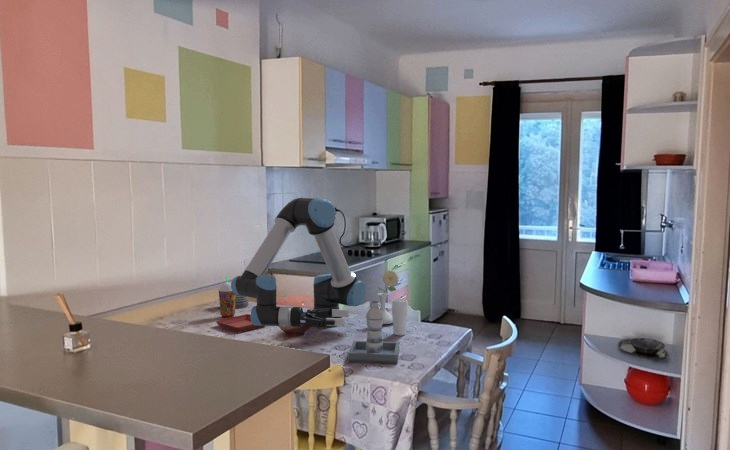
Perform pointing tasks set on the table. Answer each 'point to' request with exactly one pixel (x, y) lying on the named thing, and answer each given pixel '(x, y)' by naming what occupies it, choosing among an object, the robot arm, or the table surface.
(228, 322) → the plant saucer
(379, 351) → the silver metal bottle
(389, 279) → the flower in vase
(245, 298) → the can
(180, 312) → the table surface
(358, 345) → the tray
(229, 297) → the smoothie
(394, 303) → the drinking glass
